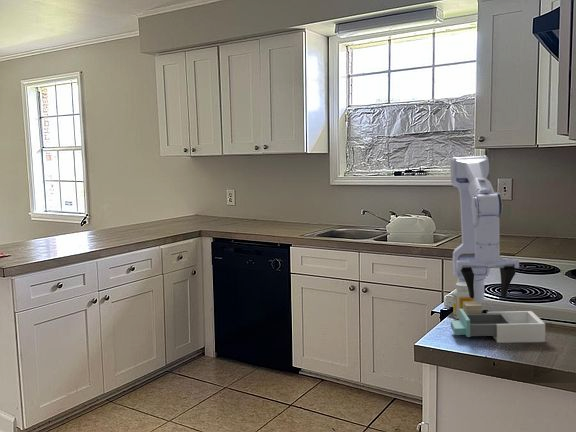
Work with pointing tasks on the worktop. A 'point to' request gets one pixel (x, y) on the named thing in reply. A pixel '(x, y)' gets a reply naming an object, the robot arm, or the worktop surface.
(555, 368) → the worktop surface
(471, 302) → the birch block
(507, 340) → the organiser box
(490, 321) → the tray
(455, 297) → the supplement bottle
